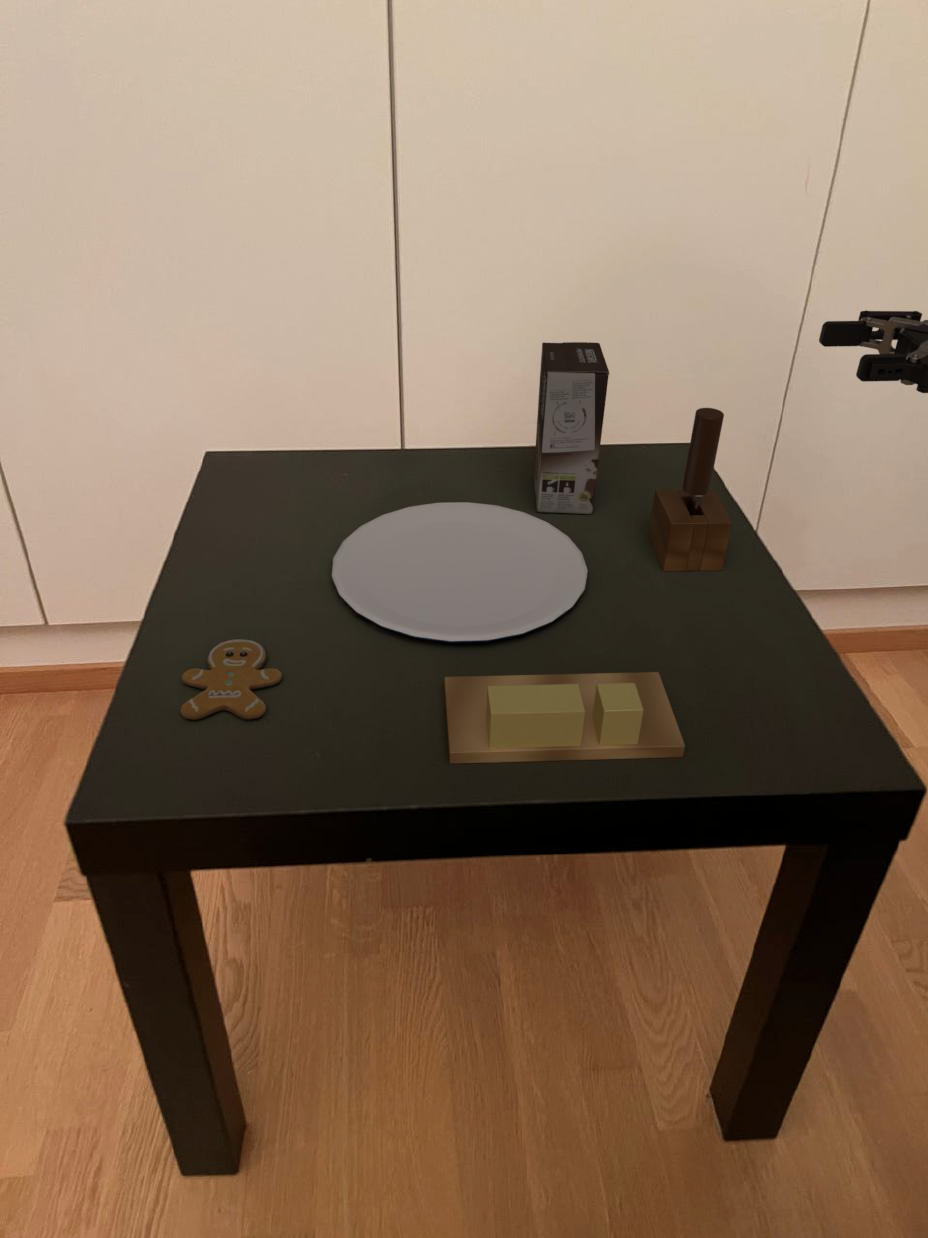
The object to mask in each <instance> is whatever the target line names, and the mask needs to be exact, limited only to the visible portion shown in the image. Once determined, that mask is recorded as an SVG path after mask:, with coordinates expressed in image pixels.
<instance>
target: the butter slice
mask: <svg viewBox="0 0 928 1238" xmlns="http://www.w3.org/2000/svg"><path fill="white" fill-rule="evenodd" d="M643 711H644V710H643V706H642V703H641V700H640V697H639V694H638V691H637V688H636V685H635V683H606V684H597V686H596V693H595V701H594V709H593V716H592V718H593V722H594V726H595V730H596V734H597V738H598V742H599V745H619V744H638V740H639V734H640V728H641V722H642V717H643Z"/></svg>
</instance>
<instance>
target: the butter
mask: <svg viewBox="0 0 928 1238" xmlns="http://www.w3.org/2000/svg"><path fill="white" fill-rule="evenodd" d="M584 716H585V709H584V705H583V701H582V697H581V693H580V689H579V685H578V684H557V685H515V686H488V687H487V706H486V726H487V734H488V743H489V748H520V747H556V746H581V740H582V732H583V724H584Z"/></svg>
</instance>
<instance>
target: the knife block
mask: <svg viewBox="0 0 928 1238" xmlns="http://www.w3.org/2000/svg"><path fill="white" fill-rule="evenodd" d="M688 499H689V493H686V492H685V491H684V490H683V488H668V489H667V488H666V489H664V488H663V489H661V488H660V489H656V488H655V490H654V496H653V501H652V507H651V515H650V521H649V528H648V534H647V537H648V538H649V541H650V543H651V546H652V548H653V550H654V552H655V555H656V558H657V560H658V563H659V565H660V566H661V567H660V568H661V569H662V572H699V571H700V572H709V571H710V572H712V571H713V572H714V571H716V572H717V571H719V572H720V571H723V569H724V565H725V560H726V554H727V550H728V545H729V540H730V535H731V530H732V527H733V522H732V520H731V517H730V516H729V514H728V513H727V511H726V509H725V507H724V506H723V504H722V502H721V500H720V499H719V497H718V495H717V494H716V492H715V490H714V489H713V488H710V490H709V492H708V493H707V494H705V495H703V498H702V501H699V505H698V510H697V515H690V513H689V512H688V510H687V505H688Z"/></svg>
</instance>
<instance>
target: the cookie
mask: <svg viewBox="0 0 928 1238" xmlns="http://www.w3.org/2000/svg"><path fill="white" fill-rule="evenodd" d="M266 662H267V654H266V650H265V648H264V646H263V645H261V644H260V643H258V642H256V641H254V640H250V639H230V640H226V641H223V642H220V643H218V644H217V645H216V646H214V647H213V648H212V649H211V650H210V652H209V654H208V655H207V658H206V664H207V667H208V668H209V669H202V668H197V667H196V668H190V669H187V670H186V671H184V672H183V674H182V675H181V681H182V683H183V684H184V685H186V686H189V687H192V688H197V689H200V690H203V691H201V692H200V693H198V694H197V695H195V696H194V697H192V698H190V699H188V700H186V702H184V703H183V704H182V706H181V707H180V709H179V712H180V714H181V716H182V718H184V719H186V720H192V721H196V720H201V719H204V718H207V717H209V716H211V715H213V714H216V713H218V712H221V711H227V712H229V713H231V714H233V715H235V716H236V717H238V718H240V719H243V720H248V721H250V720H255V719H259V718H261V717H263V716H264V714H265V713H266V712H267V706H266V704H265V703H264V701H263V700H262V699H261V698H260V697H258V696H257V695H256V694H255V693H254V692H253V691H254V690H258V689H263V688H268V687H272V686H275V685H277V684H279V683H280V682H281V681H282V679H283V674H282V672H281V671H280V670H279V669H277V668H270V667H268V668H264V669H262V668H263V667H264V666H265V664H266Z"/></svg>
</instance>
